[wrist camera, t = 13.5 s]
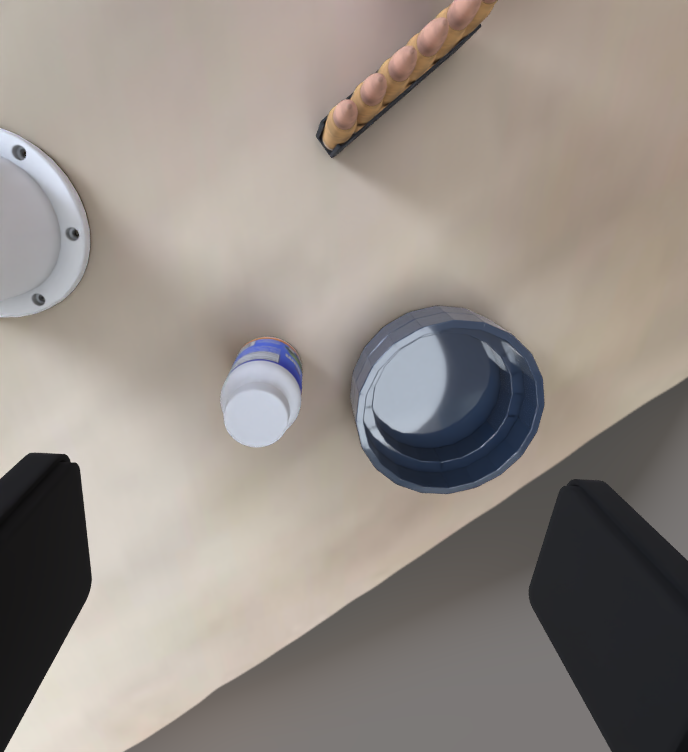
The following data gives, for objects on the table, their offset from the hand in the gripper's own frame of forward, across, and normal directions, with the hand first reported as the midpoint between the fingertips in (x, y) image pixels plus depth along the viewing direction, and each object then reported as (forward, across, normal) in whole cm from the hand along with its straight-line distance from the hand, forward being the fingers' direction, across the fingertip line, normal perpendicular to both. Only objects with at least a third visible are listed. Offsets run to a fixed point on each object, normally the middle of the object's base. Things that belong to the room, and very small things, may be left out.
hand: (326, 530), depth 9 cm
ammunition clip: (+28, -4, -13) cm, 32 cm away
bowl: (+28, -11, +8) cm, 31 cm away
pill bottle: (+28, +3, +7) cm, 29 cm away
